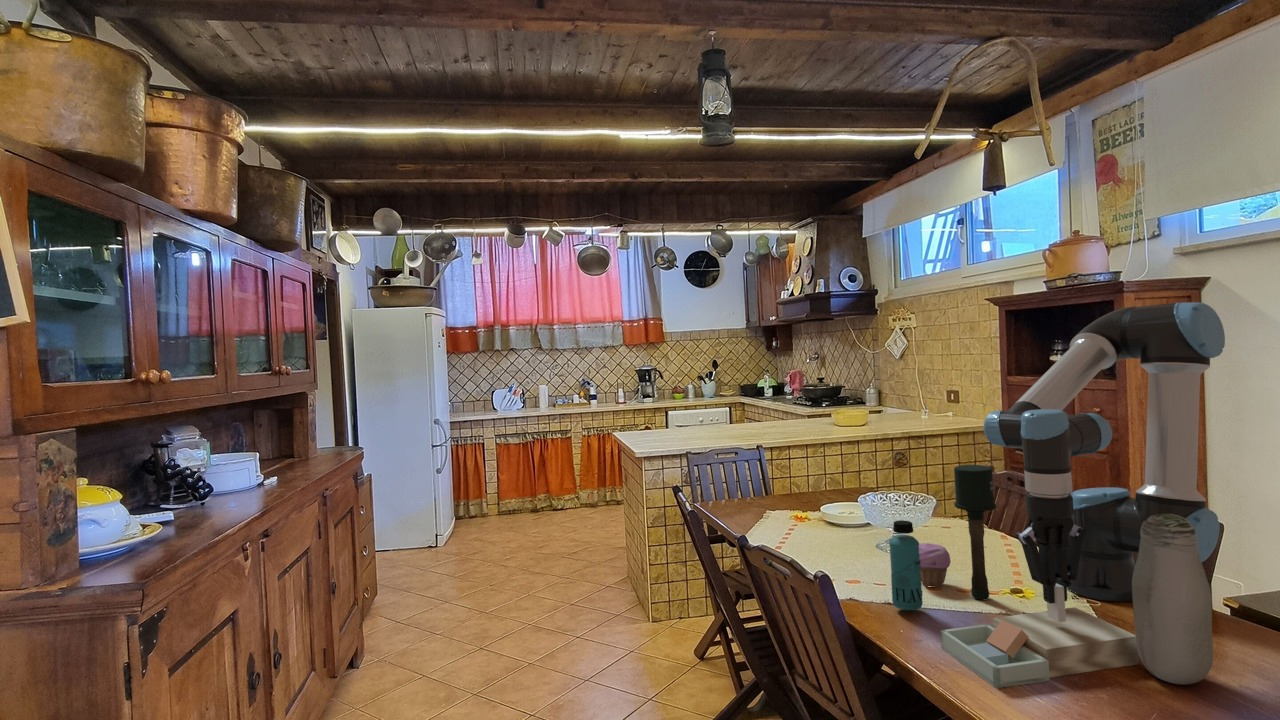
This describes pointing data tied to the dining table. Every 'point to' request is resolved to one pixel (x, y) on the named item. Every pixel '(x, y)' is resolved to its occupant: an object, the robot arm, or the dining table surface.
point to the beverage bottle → (905, 568)
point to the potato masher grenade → (975, 516)
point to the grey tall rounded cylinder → (1172, 602)
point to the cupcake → (933, 564)
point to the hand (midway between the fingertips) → (1056, 618)
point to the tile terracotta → (1007, 638)
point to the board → (1075, 641)
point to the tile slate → (991, 653)
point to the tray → (1016, 672)
